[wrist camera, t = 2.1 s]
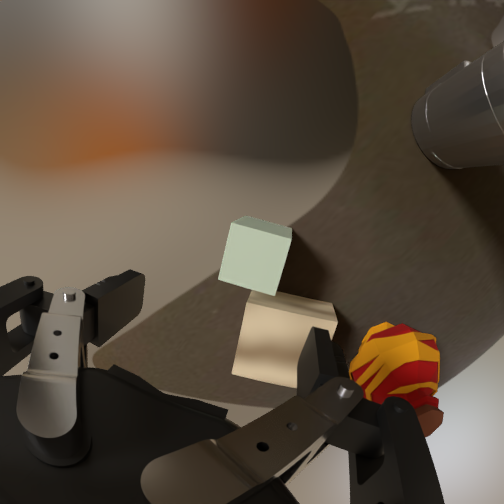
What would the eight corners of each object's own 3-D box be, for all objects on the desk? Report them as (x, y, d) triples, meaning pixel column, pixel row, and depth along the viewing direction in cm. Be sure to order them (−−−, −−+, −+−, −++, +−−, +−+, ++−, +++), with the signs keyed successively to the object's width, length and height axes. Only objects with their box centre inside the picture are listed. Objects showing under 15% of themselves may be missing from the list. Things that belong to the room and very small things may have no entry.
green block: (245, 215, 29) (231, 222, 22) (291, 228, 28) (291, 239, 22) (234, 259, 30) (218, 279, 23) (279, 272, 30) (274, 296, 23)
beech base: (254, 285, 30) (246, 302, 26) (331, 302, 30) (337, 322, 25) (240, 350, 33) (231, 373, 28) (309, 365, 32) (310, 390, 27)
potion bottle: (426, 302, 28) (491, 369, 13) (405, 372, 30) (443, 451, 15) (347, 301, 29) (383, 385, 14) (333, 374, 31) (346, 467, 17)
